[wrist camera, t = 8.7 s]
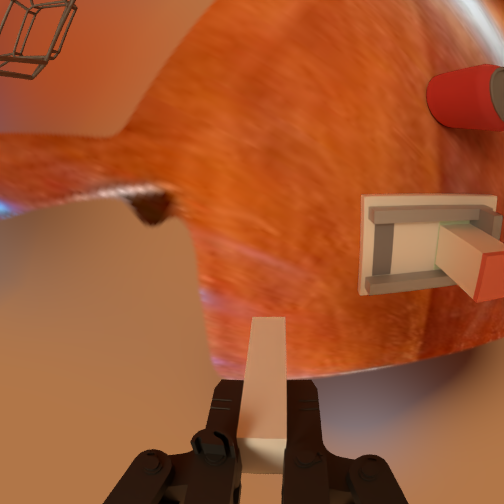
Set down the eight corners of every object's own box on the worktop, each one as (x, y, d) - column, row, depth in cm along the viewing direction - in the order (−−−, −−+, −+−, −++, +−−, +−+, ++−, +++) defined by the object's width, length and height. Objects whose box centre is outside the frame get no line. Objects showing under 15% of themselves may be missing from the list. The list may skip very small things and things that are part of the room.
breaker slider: (435, 263, 33) (476, 303, 24) (440, 224, 31) (487, 256, 22) (464, 260, 33) (507, 296, 23) (470, 223, 31) (518, 252, 22)
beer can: (474, 111, 27) (539, 114, 16) (443, 137, 29) (509, 146, 18) (446, 66, 25) (509, 51, 14) (413, 90, 27) (475, 78, 16)
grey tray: (357, 291, 36) (371, 318, 30) (360, 194, 32) (380, 207, 26) (480, 276, 35) (503, 296, 29) (492, 194, 30) (520, 206, 25)
